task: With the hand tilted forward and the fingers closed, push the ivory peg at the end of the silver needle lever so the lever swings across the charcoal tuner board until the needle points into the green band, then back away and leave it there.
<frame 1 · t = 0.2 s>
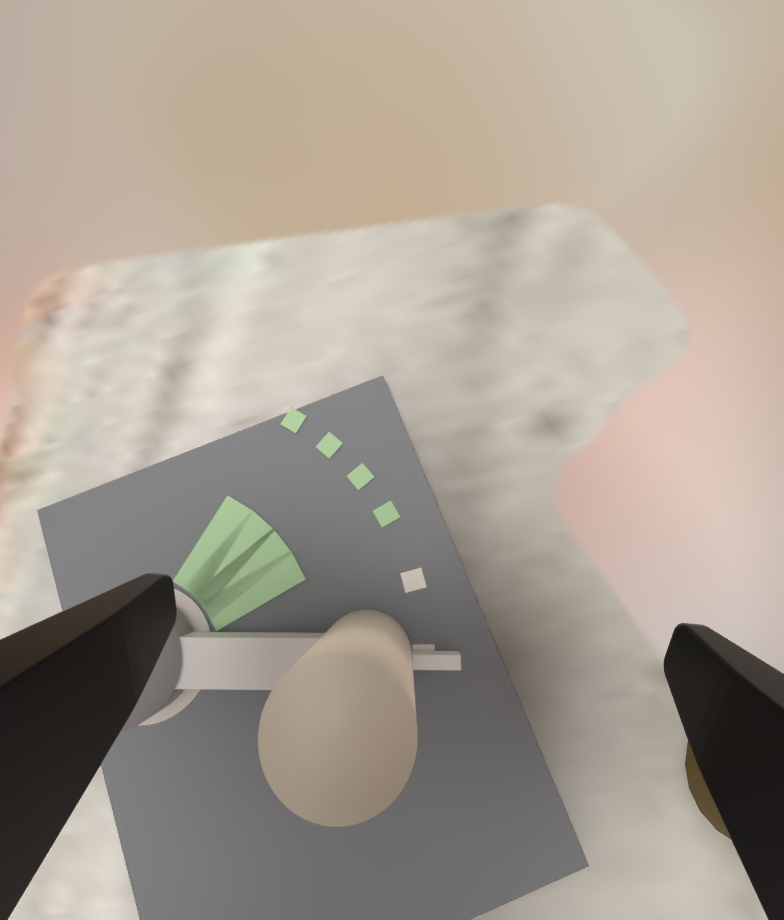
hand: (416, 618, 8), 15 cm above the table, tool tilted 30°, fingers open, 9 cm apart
cork: (752, 769, 21), on the table
needle lever: (233, 684, 16), point 6 cm above the table, hinge at 0.0°
tuner board: (295, 668, 22), on the table
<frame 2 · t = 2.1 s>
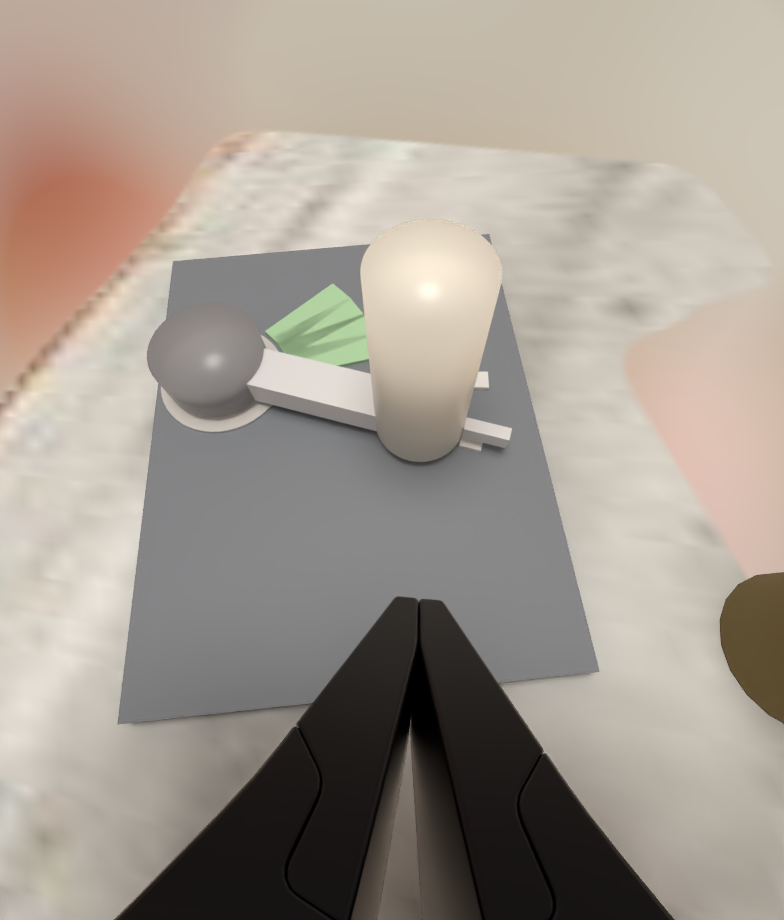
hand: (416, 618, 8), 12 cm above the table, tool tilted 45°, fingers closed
needle lever: (315, 338, 18), point 6 cm above the table, hinge at 0.0°
tuner board: (346, 435, 23), on the table
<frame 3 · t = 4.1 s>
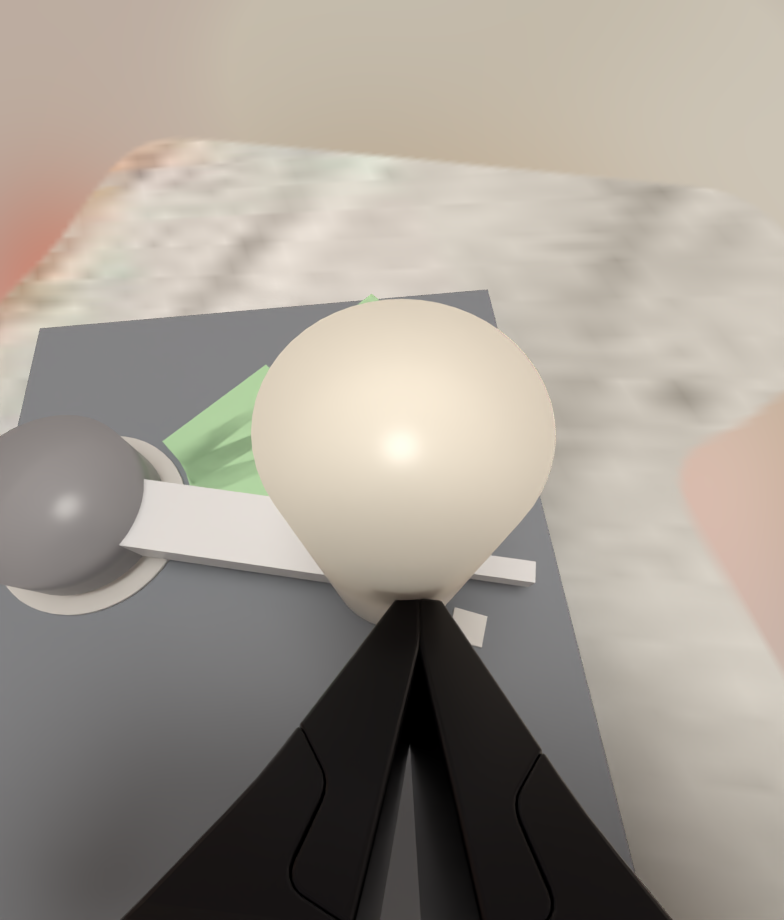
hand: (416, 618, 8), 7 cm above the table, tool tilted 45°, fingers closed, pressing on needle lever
needle lever: (210, 490, 11), point 6 cm above the table, hinge at 7.5°, touching gripper
tuner board: (279, 604, 15), on the table
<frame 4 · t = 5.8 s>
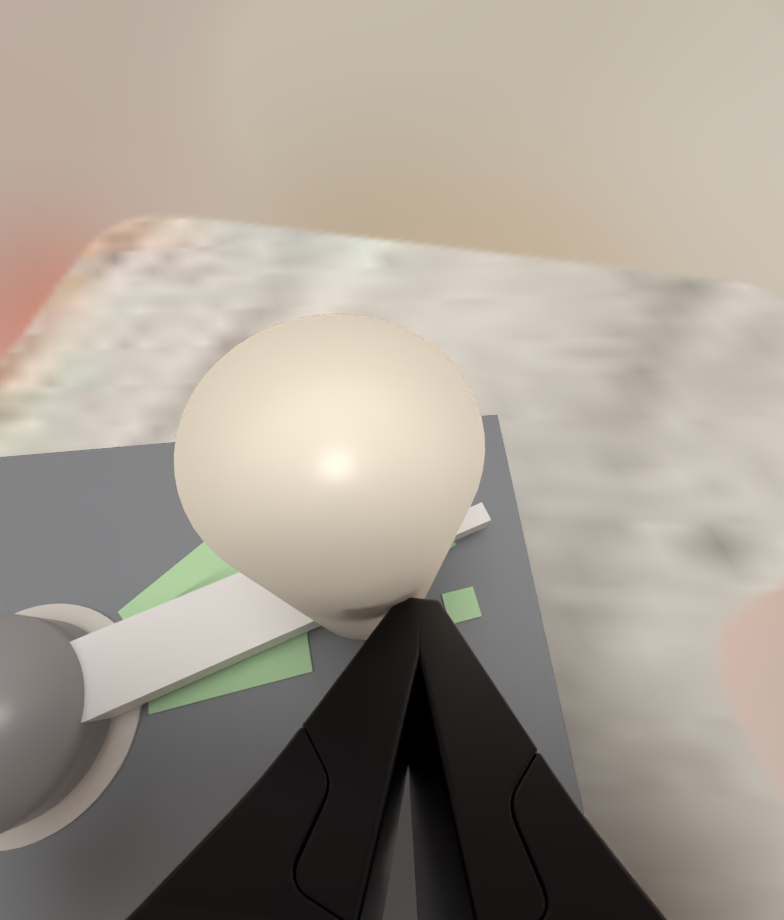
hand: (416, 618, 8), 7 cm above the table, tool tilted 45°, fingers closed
needle lever: (158, 609, 10), point 6 cm above the table, hinge at 39.5°, touching gripper
tuner board: (248, 820, 13), on the table
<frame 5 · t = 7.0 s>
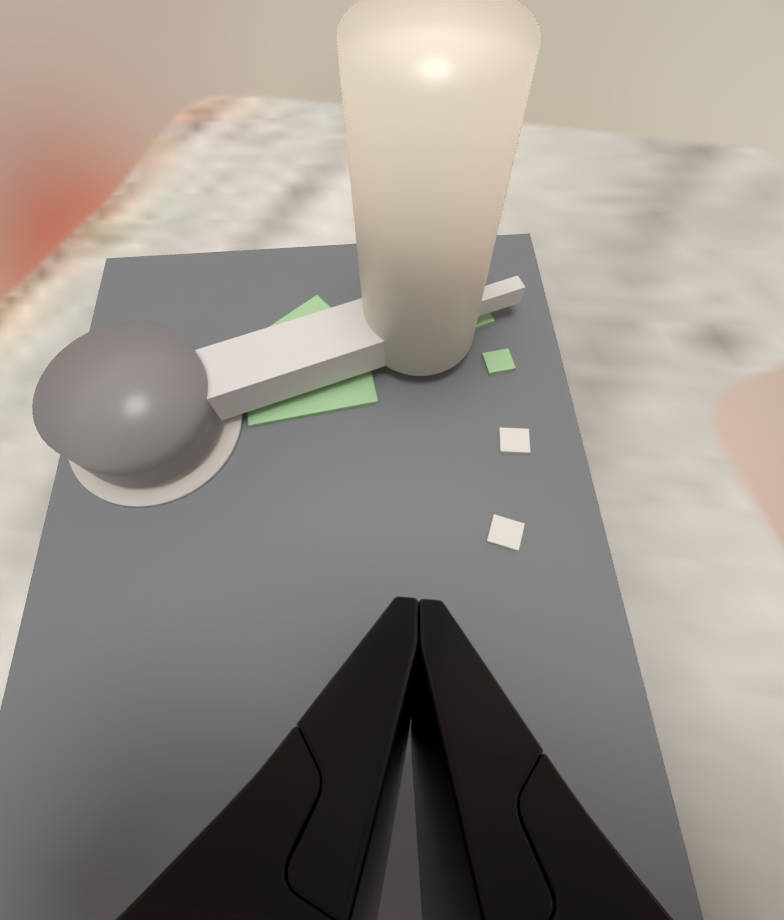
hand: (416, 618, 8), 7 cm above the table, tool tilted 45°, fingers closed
needle lever: (281, 269, 13), point 6 cm above the table, hinge at 39.6°
tuner board: (325, 512, 16), on the table
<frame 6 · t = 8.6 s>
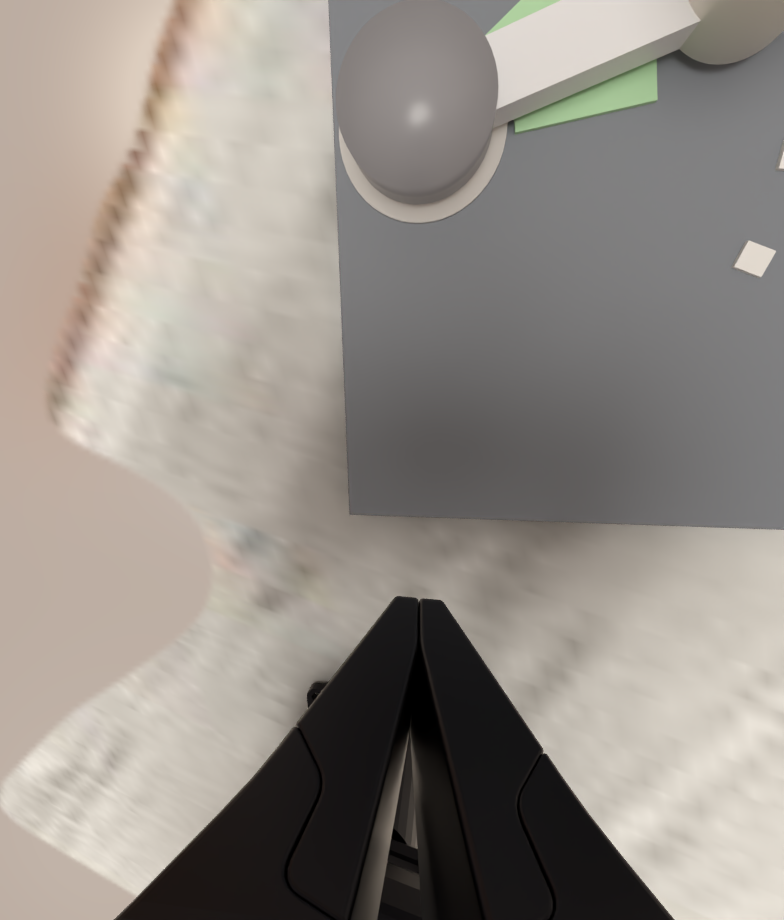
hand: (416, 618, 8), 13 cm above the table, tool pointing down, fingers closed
tuner board: (575, 229, 18), on the table
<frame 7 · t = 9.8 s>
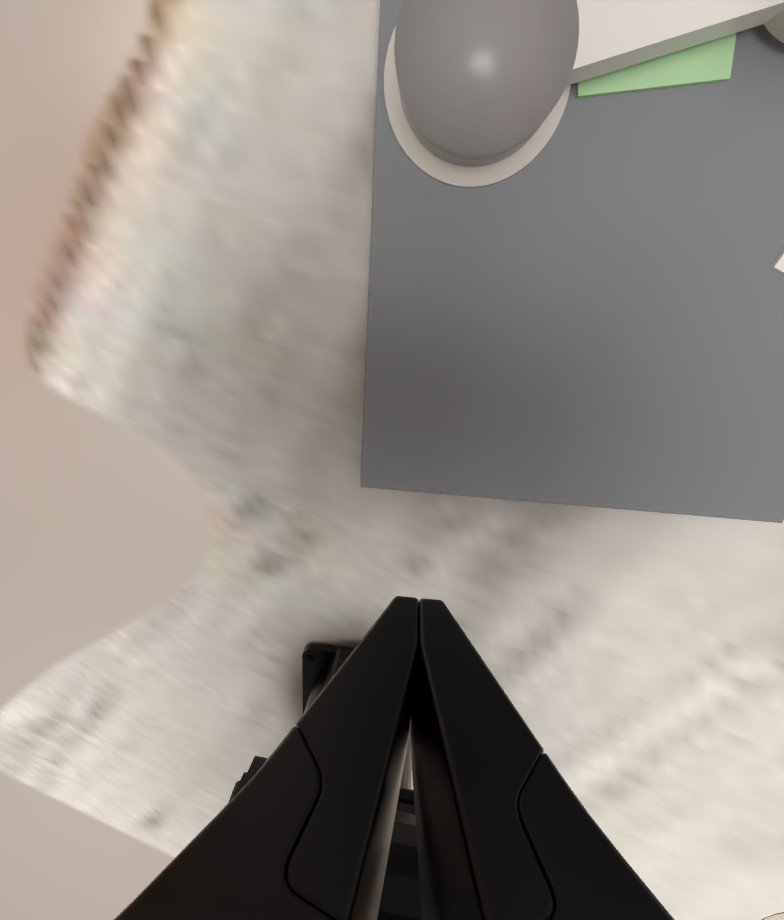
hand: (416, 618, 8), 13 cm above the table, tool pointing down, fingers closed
tuner board: (621, 209, 17), on the table
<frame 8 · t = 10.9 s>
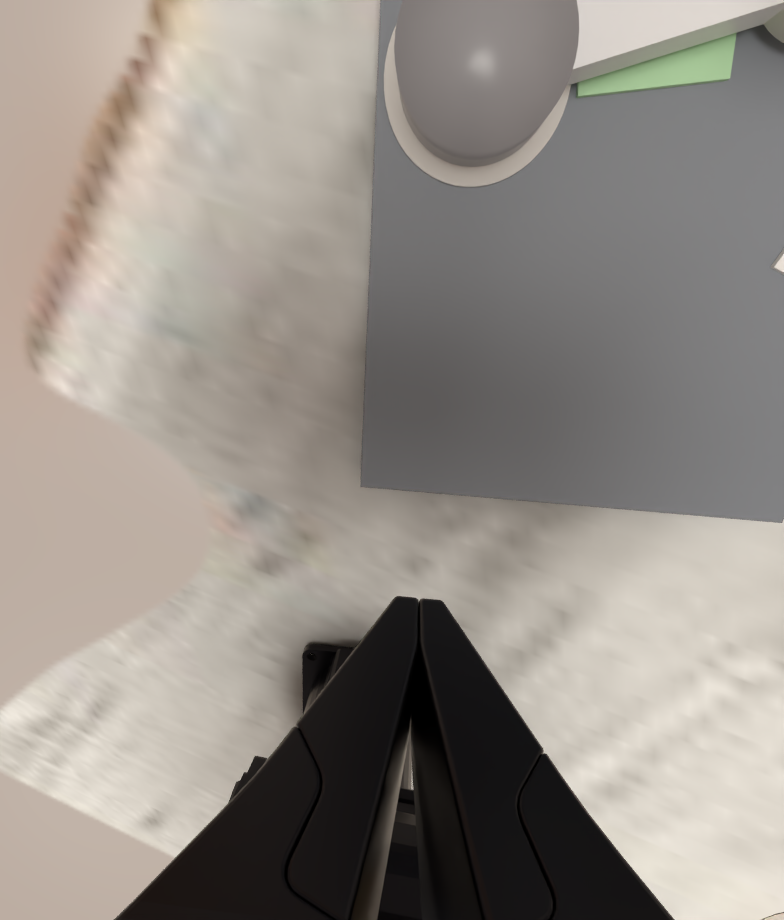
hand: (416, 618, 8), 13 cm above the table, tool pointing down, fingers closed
tuner board: (621, 209, 17), on the table
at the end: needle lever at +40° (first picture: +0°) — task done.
